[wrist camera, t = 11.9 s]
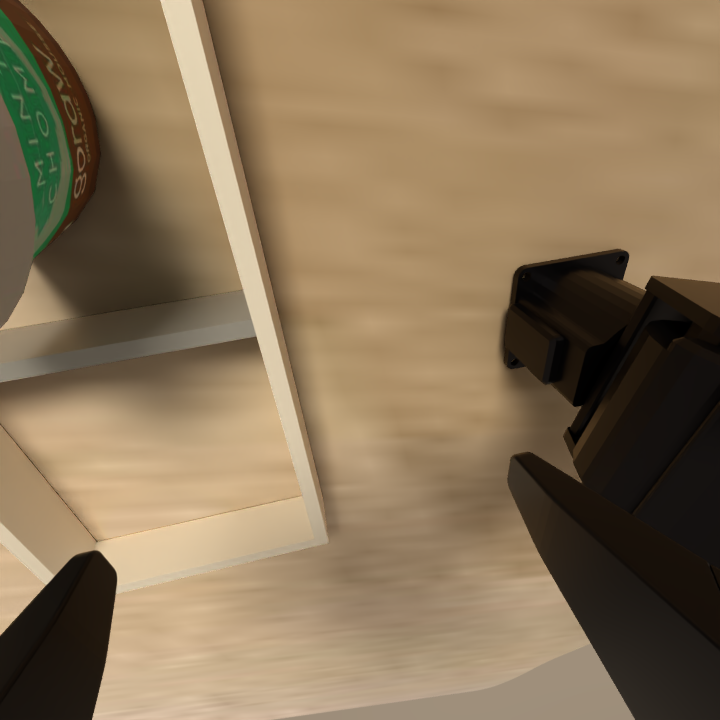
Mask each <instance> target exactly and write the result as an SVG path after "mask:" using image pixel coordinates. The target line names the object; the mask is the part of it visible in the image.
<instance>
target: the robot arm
mask: <svg viewBox="0 0 720 720" xmlns="http://www.w3.org/2000/svg"><path fill="white" fill-rule="evenodd" d="M618 257H619V259H618V260H617V258H618ZM616 260H617V261H616ZM628 260H629V254H628V252H626V251H624V250H621V249H615V250H609V251H603V252H597V253H592V254H586V255H580V256H574V257H569V258H563V259H557V260H551V261H546V262H540V263H534V264H528V265H523V266H521V267H519V268H518V269H517V270H516V272H515V275H514V282H513V290H512V298H511V305H510V307H509V309H508V317H507V325H506V333H505V342H504V345H505V346H506V348H505V356H504V363H505V364H506V365H507V366H508V368H510V369H515V368H520V367H525V366H526V367H527V368H528V369H529V370H530V371H531V372H532V373H533V374H534V375H535V376H536V377H537V378H538V379H539V380H540V381H541V382H542V383H543V384H545V385H547V384H551V385H552V386H553V387H555V388H556V389H557V390H558V391H559V392H560V393H561V394H562V395H563V396H564V397H565V398H566V399H567V400H568V401H569V402H570V403H571V404H572V405H573V406H574V407H578V406H582V407H581V409H580V411H579V413H578V414H577V416H576V418H575V420H574V421H573V423H572V425H571V427H568V428H567V430H566V432H565V433H564V435H563V437H564V440H565V442H566V444H567V446H568V449H569V451H570V453H571V455H572V458H573V464H574V466H575V468H576V470H577V472H578V475H579V477H580V479H581V480H582V483H580V482H578V481H577V480H575V479H573V478H572V477H570V476H568V475H567V474H565V473H564V472H562V471H560V470H559V469H557V468H556V467H554V466H552V465H551V464H549V463H547V462H546V461H544V460H543V459H541V458H539V457H538V456H536V455H535V454H533V453H530V452H524V453H519V454H515V455H513V456H512V457H511V459H510V465H509V471H508V478H507V480H508V486H509V489H510V491H511V493H512V496H513V498H514V500H515V502H516V504H517V507H518V509H519V511H520V513H521V515H522V518H523V520H524V522H525V524H526V526H527V529H528V531H529V533H530V535H531V538H532V540H533V542H534V544H535V546H536V548H537V550H538V552H539V554H540V556H541V558H542V560H543V561H544V563H545V565H546V567H547V568H548V570H549V572H550V574H551V575H552V577H553V579H554V580H555V582H556V584H557V586H558V587H559V589H560V591H561V593H562V594H563V596H564V598H565V599H566V601H567V603H568V605H569V606H570V608H571V610H572V611H573V613H574V615H575V617H576V618H577V620H578V622H579V624H580V625H581V627H582V629H583V630H584V632H585V634H586V636H587V637H588V639H589V641H590V643H591V644H592V646H593V648H594V649H595V651H596V653H597V655H598V656H599V658H600V659H601V661H602V663H603V665H604V667H605V668H606V670H607V672H608V673H609V675H610V677H611V679H612V680H613V682H614V684H615V685H616V687H617V689H618V691H619V692H620V694H621V696H622V698H623V699H624V701H625V703H626V705H627V706H628V708H629V710H630V711H631V713H632V715H633V717H634V718H635V720H720V283H715V282H706V281H697V280H688V279H678V278H669V277H660V276H651V278H650V280H649V281H648V283H647V285H646V287H645V289H646V291H645V290H643V289H641V288H639V287H636V286H634V285H632V284H630V283H628V282H626V281H624V280H623V277H624V274H625V270H626V267H627V263H628ZM526 272H527V276H526V277H525V278H523V279H522V277H523V275H524V274H525V273H526ZM513 359H515V360H514V361H513V362H511V361H512V360H513ZM116 588H117V573H116V570H115V569H114V567H113V566H112V565H111V564H110V563H109V561H108V560H107V559H106V558H105V557H104V555H103V554H102V553H101V552H100V551H98V550H92V551H88V552H83V553H79V554H77V555H75V556H73V557H72V558H71V559H70V560H69V561H68V562H67V563H66V564H65V565H64V566H63V567H62V569H61V570H60V571H59V572H58V573H57V574H56V575H55V576H54V577H53V578H52V579H51V581H50V582H49V583H48V584H47V585H46V586H45V587H44V588H43V589H42V590H41V592H40V593H39V594H38V595H37V596H36V597H35V598H34V599H33V600H32V601H31V603H30V604H29V605H28V606H27V607H26V608H25V609H24V610H23V611H22V612H21V613H20V615H19V616H18V617H17V618H16V619H15V620H14V621H13V622H12V623H11V624H10V626H9V627H8V628H7V629H6V630H5V631H4V632H3V633H2V634H1V635H0V720H92V717H93V713H94V709H95V705H96V701H97V697H98V693H99V689H100V685H101V680H102V676H103V672H104V667H105V663H106V657H107V651H108V644H109V637H110V630H111V623H112V616H113V609H114V602H115V595H116Z"/></svg>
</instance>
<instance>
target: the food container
mask: <svg viewBox="0 0 720 720" xmlns="http://www.w3.org/2000/svg"><path fill="white" fill-rule="evenodd" d="M100 156H101V150H100V144H99V137H98V131H97V125H96V119H95V116H94V113H93V110H92V107H91V104H90V101H89V98H88V95H87V93H86V91H85V89H84V87H83V85H82V83H81V81H80V79H79V77H78V75H77V73H76V71H75V69H74V67H73V66H72V64H71V63H70V61H69V60H68V58H67V57H66V55H65V54H64V52H63V50H62V49H61V47H60V46H59V44H58V43H57V42H56V41H55V40H54V38H53V37H52V36H51V35H50V33H49V32H48V31H47V30H46V29H45V27H44V26H43V25H42V24H41V22H40V21H39V20H38V19H37V18H36V17H35V16H34V15H33V14H32V13H31V12H30V11H29V10H28V9H27V8H26V7H25V6H24V5H23V4H22V3H21V2H20V1H19V0H0V328H1V327H2V326H3V325H4V324H5V323H6V322H7V321H8V319H9V317H10V315H11V314H12V312H13V310H14V308H15V307H16V305H17V303H18V301H19V300H20V298H21V296H22V294H23V293H24V289H25V286H26V282H27V279H28V275H29V272H30V269H31V265H32V262H33V259H34V258H35V257H36V256H37V255H38V254H39V253H40V252H41V251H43V250H44V249H45V248H46V247H47V246H48V245H49V244H50V243H51V242H52V241H54V240H55V239H56V238H57V237H58V236H59V235H60V234H61V233H62V232H63V231H65V230H66V229H67V228H68V227H69V226H70V225H71V224H72V223H73V222H74V221H76V219H77V218H78V216H79V215H80V213H81V212H82V210H83V209H84V207H85V205H86V204H87V202H88V201H89V199H90V198H91V196H92V195H93V193H94V191H95V187H96V181H97V175H98V169H99V162H100Z"/></svg>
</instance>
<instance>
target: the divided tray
mask: <svg viewBox="0 0 720 720" xmlns="http://www.w3.org/2000/svg"><path fill="white" fill-rule="evenodd" d="M160 1H161V4H162V8H163V11H164V15H165V18H166V22H167V25H168V29H169V32H170V36H171V39H172V43H173V46H174V50H175V53H176V57H177V60H178V64H179V67H180V71H181V74H182V78H183V81H184V85H185V88H186V92H187V95H188V99H189V102H190V106H191V109H192V113H193V116H194V120H195V123H196V127H197V130H198V134H199V137H200V141H201V144H202V147H203V151H204V154H205V158H206V161H207V165H208V168H209V172H210V175H211V179H212V182H213V186H214V189H215V193H216V196H217V200H218V203H219V207H220V210H221V214H222V217H223V221H224V224H225V228H226V231H227V235H228V238H229V242H230V245H231V249H232V252H233V256H234V259H235V263H236V266H237V270H238V273H239V277H240V280H241V284H242V287H243V290H240V291H234V292H228V293H222V294H216V295H210V296H204V297H198V298H192V299H186V300H180V301H174V302H169V303H163V304H157V305H151V306H145V307H139V308H133V309H127V310H121V311H115V312H109V313H103V314H97V315H91V316H85V317H79V318H73V319H67V320H61V321H55V322H49V323H43V324H37V325H31V326H25V327H19V328H13V329H7V330H1V331H0V383H1V382H6V381H12V380H17V379H23V378H28V377H34V376H39V375H45V374H50V373H56V372H62V371H67V370H73V369H78V368H84V367H89V366H95V365H100V364H106V363H112V362H117V361H123V360H128V359H134V358H139V357H145V356H150V355H156V354H161V353H167V352H173V351H178V350H184V349H189V348H195V347H200V346H206V345H211V344H217V343H223V342H228V341H234V340H239V339H245V338H250V337H256V336H257V340H258V343H259V347H260V350H261V353H262V357H263V360H264V364H265V367H266V371H267V374H268V378H269V381H270V385H271V388H272V392H273V395H274V399H275V402H276V406H277V409H278V413H279V416H280V420H281V423H282V427H283V430H284V434H285V437H286V441H287V444H288V448H289V451H290V455H291V458H292V462H293V465H294V469H295V472H296V476H297V479H298V483H299V486H300V490H301V493H302V496H299V497H295V498H290V499H286V500H281V501H277V502H272V503H268V504H264V505H259V506H255V507H250V508H246V509H241V510H237V511H232V512H228V513H223V514H219V515H215V516H210V517H206V518H201V519H197V520H192V521H188V522H183V523H179V524H174V525H170V526H166V527H161V528H157V529H152V530H148V531H143V532H139V533H134V534H130V535H125V536H121V537H117V538H112V539H108V540H103V541H99V542H96V540H95V539H94V538H93V537H92V536H91V534H90V533H89V532H88V531H87V530H86V528H85V527H84V526H83V525H82V523H81V522H80V521H79V520H78V519H77V517H76V516H75V515H74V514H73V512H72V511H71V510H70V509H69V508H68V506H67V505H66V504H65V503H64V502H63V500H62V499H61V498H60V497H59V495H58V494H57V493H56V492H55V491H54V489H53V488H52V487H51V486H50V485H49V483H48V482H47V481H46V480H45V478H44V477H43V476H42V475H41V474H40V472H39V471H38V470H37V469H36V467H35V466H34V465H33V464H32V463H31V461H30V460H29V459H28V458H27V457H26V455H25V454H24V453H23V452H22V450H21V449H20V448H19V447H18V446H17V444H16V443H15V442H14V441H13V439H12V438H11V437H10V436H9V435H8V433H7V432H6V431H5V430H4V429H3V427H2V426H1V425H0V543H1V544H2V545H3V546H5V547H6V548H7V549H8V550H9V551H10V552H11V553H12V554H13V555H14V556H15V557H16V558H17V559H18V560H19V561H20V562H22V563H23V564H24V565H25V566H26V567H27V568H28V569H29V570H30V571H31V572H32V573H33V574H34V575H35V576H36V577H37V578H38V579H40V580H41V581H42V582H43V583H44V584H45V585H47V584H48V583H49V582H50V581H51V579H52V578H53V577H54V576H55V575H56V574H57V573H58V572H59V571H60V570H61V569H62V567H63V566H64V565H65V564H66V563H67V562H68V561H69V560H70V559H71V558H72V557H73V556H75V555H77V554H79V553H83V552H88V551H92V550H98V551H100V552H101V553H102V554H103V555H104V557H105V558H106V559H107V560H108V561H109V563H110V564H111V565H112V566H113V567H114V569H115V570H116V573H117V588H116V594H119V593H123V592H127V591H131V590H135V589H140V588H144V587H148V586H152V585H156V584H160V583H165V582H169V581H173V580H177V579H181V578H186V577H190V576H194V575H198V574H202V573H207V572H211V571H215V570H219V569H223V568H228V567H232V566H236V565H240V564H244V563H248V562H253V561H257V560H261V559H265V558H269V557H274V556H278V555H282V554H286V553H290V552H295V551H299V550H303V549H307V548H311V547H315V546H320V545H324V544H328V543H329V540H328V532H327V525H326V517H325V509H324V502H323V496H322V492H321V488H320V484H319V480H318V476H317V471H316V467H315V463H314V459H313V455H312V451H311V447H310V443H309V438H308V434H307V430H306V426H305V422H304V418H303V414H302V410H301V405H300V401H299V397H298V393H297V389H296V385H295V381H294V377H293V372H292V368H291V364H290V360H289V356H288V352H287V348H286V343H285V339H284V335H283V331H282V327H281V323H280V319H279V315H278V310H277V306H276V302H275V298H274V294H273V290H272V286H271V282H270V277H269V273H268V269H267V265H266V261H265V257H264V253H263V248H262V244H261V240H260V236H259V232H258V228H257V224H256V220H255V215H254V211H253V207H252V203H251V199H250V195H249V191H248V187H247V182H246V178H245V174H244V170H243V166H242V162H241V158H240V154H239V149H238V145H237V141H236V137H235V133H234V129H233V125H232V120H231V116H230V112H229V108H228V104H227V100H226V96H225V92H224V87H223V83H222V79H221V75H220V71H219V67H218V63H217V59H216V54H215V50H214V46H213V42H212V38H211V34H210V30H209V25H208V21H207V17H206V13H205V9H204V5H203V1H202V0H160Z"/></svg>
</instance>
